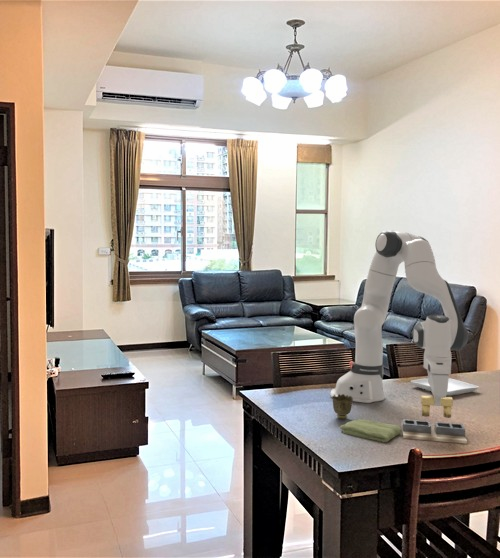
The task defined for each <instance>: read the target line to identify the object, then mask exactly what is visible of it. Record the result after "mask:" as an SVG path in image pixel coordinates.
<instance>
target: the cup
mask: <svg viewBox="0 0 500 558" xmlns="http://www.w3.org/2000/svg"><path fill="white" fill-rule="evenodd" d="M331 398H332V409H333V411H334V413H335V414H336V417H337V418H338V419H340V420H346V419H347V418H348V415H350V413H351V411H352V407H353V402H354V401H353V398H352V396H349V397H348V395H347V396H345V395H344V394H342V395H340V394H338V397H337V396H335V395H334V396H332V397H331Z"/></svg>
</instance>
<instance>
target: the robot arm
mask: <svg viewBox="0 0 500 558" xmlns="http://www.w3.org/2000/svg"><path fill="white" fill-rule="evenodd" d="M375 250H376V251H375V253H374V256H373V257H372V260H371V262H370V263H371V264H370V266H369V269H368V272H367V276H366V280H365V283H364V291H363V297H362V303H361V305H360V307H359V308H358V309H357V310H356V311H355V313H354V316H353V327H354V338H355V340H354V341H355V357H354V361H353V360H352V361H350V362H349V363H348V364H349V371H348V372H346V373H345V374H344V375H342V376H340V377H339V378H338V379H337V381H336V385H335V388H332V389H331V391H330V393H329V396H330V397H331V398H332V396H334V395H335V396H337V397H338V394H340V395H342V394H344V395H345V396H347V395H348V397H349V396H352V398H353V401H352V402H357V403H358V402H359V403H366V404H370V403H374V402H381V401H384V400H385V399H386V395H385V391H384V385H383V378H384V363H383V358H384V357H383V353H384V350H383V349H384V344H383V335H382V332H383V331H382V328H383V327H382V326H383V325H384V323H385V322H386V319H387V315H388V310H389V307H390V302H391V296H392V292H393V288H394V286H395V285H394V284H395V282H396V278H397V273H398V270H399V266H400V264H401V263H404V273H405V277H406V282H407V284H408V285H409V286H410V287H411V288H412V289H413V290H415V291H417V292H419V293H421V294H425V295H427V296H430V297H432V298H434V299H436V300H437V301H439V303H440V305H441V307H442V310H443V311H442V312H443V313H444V315H443V314H439V313H438V314H430V315H427V316H426V319H425V320H423V321H420V322H418V323H416V324H415V325H414V326H413V329H412V342H413V344H414V345H415V346H416V347H418V348H420V349H422V350H423V349H424V352H423V368H424V369H425V370H426V371H427V372H426V373H427V378H428V383H429V385H430V387H431V389H432V392H431V394H432V395H431V396H434V405H435V407H441V406H440V400H441V398H445V397H447V396H446V395H447V389H448V379H449V378H450V376H449V375H451V374H452V352H451V351H460V350H462V349H463V348H464V347H465V346H466V345H467V343H468V342H469V341H468V340H469V334H468V330H467V327H466V326H465V324H464V322H463V319H462V316H461V314H460V312H459V309H458V304H457V303H456V300H455V297H454V294H453V290H452V289H451V286H450V284H449V282H448V281H447V280H446V279H444V278H442V276H441V274H440V273H439V272H438V270H437V265H436V260H435V256H434V252H433V249H432V247H431V244H430V242H429V241H428V240H427V239H426V238H424V237H422V236H419V235H415V234H412V233H409V232H403V231H394V230H387V229H386V230H383V231H381V232H380V233H379V234H378V236H377V237H376V239H375ZM434 405H433V406H434Z"/></svg>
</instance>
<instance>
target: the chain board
mask: <svg viewBox="0 0 500 558" xmlns="http://www.w3.org/2000/svg"><path fill="white" fill-rule="evenodd" d="M400 425H401V434H402V438H403V439H411V440H421V441H433V442H441V443H442V442H444V443H456V444H465V445H467V444H468V440H467V438H466V436H465V437H462V436H451V435H439V434H436V432H435V429H434V425H435V424H434V425H432V424H431V434H428V433H417V432H405V431H403V429H402V422H401V424H400Z"/></svg>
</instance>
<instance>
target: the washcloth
mask: <svg viewBox="0 0 500 558" xmlns="http://www.w3.org/2000/svg"><path fill="white" fill-rule="evenodd" d="M339 429H340V430H342V433H343V434H345V435H346V434H347V435H351V436H355V437H359V438H363V439H368V440H371V441H376V440H377V442H381V441H382V442H381V443H388V442H389V441H391V440H393V438H394V437H397V436H399V435H400V434H402V428H400V426H399V425H396V424H390V423H389V424H388V423H384V422H379V421H375V420H373V421H372V420H368V419H364V418H363V419H362V418H358V419H354V420H351V421H348V422H346V423H345V424H340V428H339Z"/></svg>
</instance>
